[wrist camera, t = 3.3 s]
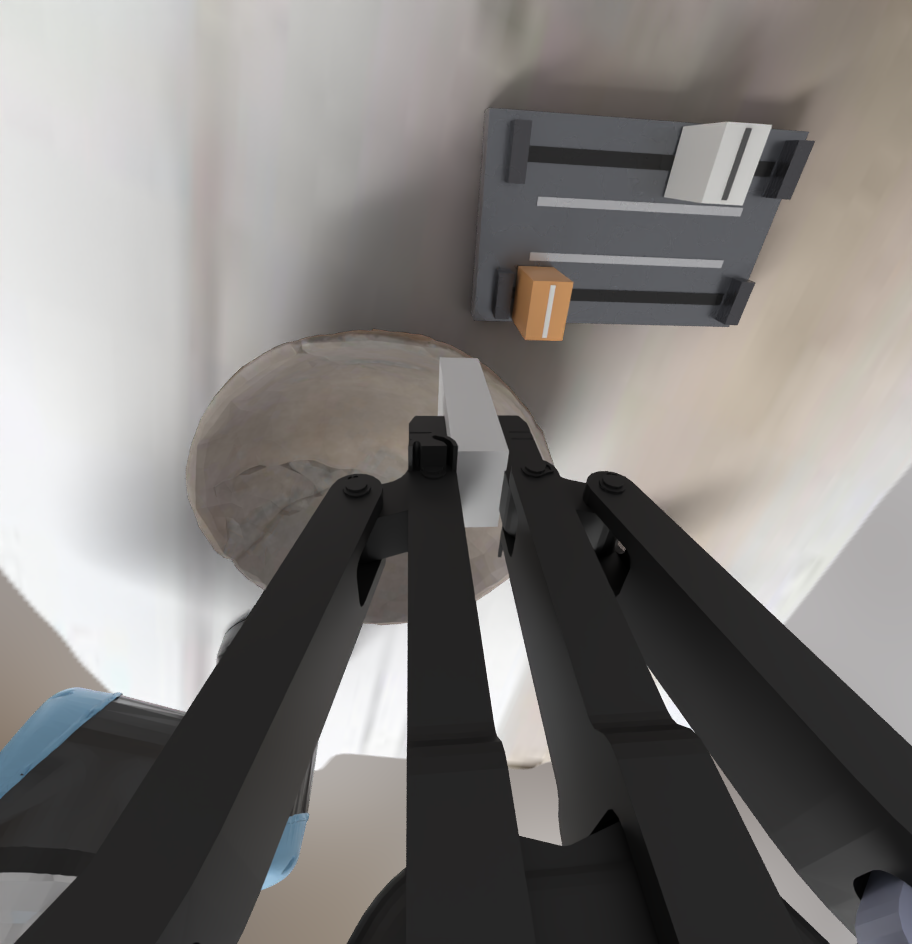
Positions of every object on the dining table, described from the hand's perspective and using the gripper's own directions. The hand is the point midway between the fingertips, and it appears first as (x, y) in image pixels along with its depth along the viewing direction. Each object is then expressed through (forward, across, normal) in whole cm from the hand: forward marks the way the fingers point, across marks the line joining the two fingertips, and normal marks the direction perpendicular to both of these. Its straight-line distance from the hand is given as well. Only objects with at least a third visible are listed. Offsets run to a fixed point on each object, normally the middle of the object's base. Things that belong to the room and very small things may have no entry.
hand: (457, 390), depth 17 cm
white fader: (+16, +16, +8) cm, 24 cm away
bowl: (+18, -4, -14) cm, 24 cm away
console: (+18, +13, +4) cm, 23 cm away
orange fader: (+16, +7, 0) cm, 17 cm away
